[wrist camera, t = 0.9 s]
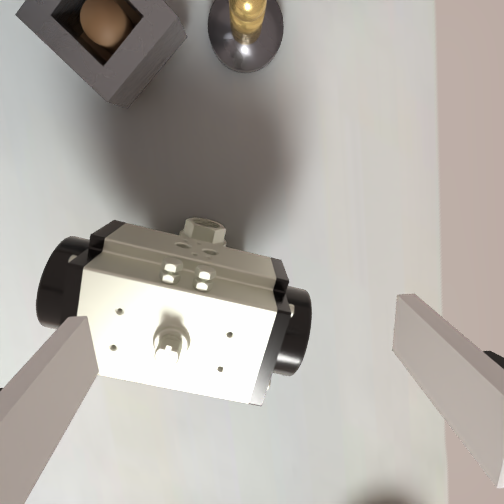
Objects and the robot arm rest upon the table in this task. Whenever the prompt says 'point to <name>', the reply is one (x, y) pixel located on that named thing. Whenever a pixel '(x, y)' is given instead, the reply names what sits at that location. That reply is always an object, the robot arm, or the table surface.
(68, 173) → the table surface
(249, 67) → the door knob
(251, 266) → the ball valve
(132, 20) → the brown knob on base
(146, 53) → the grey square box
